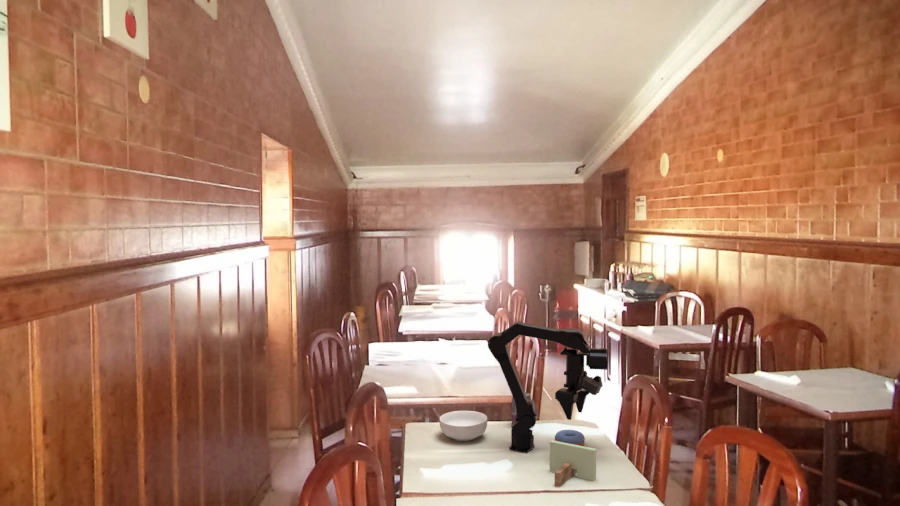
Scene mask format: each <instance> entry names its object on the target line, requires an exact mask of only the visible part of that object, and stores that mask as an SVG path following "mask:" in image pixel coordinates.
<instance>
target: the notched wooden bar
mask: <svg viewBox="0 0 900 506" xmlns="http://www.w3.org/2000/svg"><path fill="white" fill-rule="evenodd" d="M575 474H577V469H573V468H571V464H570V463H565V464H564V465H563V466H561V467H560V468H559V469H558V470H556V471H555V472H554V487H558V488H560V487H562V486H563V485H564V484H565V483H566V482H567V481H568V480H569V479H571V477H573V476H574V475H575Z"/></svg>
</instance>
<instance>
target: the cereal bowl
mask: <svg viewBox="0 0 900 506" xmlns="http://www.w3.org/2000/svg"><path fill="white" fill-rule="evenodd" d="M439 427H440V431H441V432H442V433H443V434H444V435H445V436H447V437H449V438H451V439H454V441H458V442H470V441H473V440H475V439H476V438H479V437H480V436H482V434H484V433H485V432H486V431H487V427H488V416H487V414H485V413H482V412H480V411H473V410H454V411H449V412H445V413H443V414H442V415H440V417H439Z"/></svg>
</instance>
